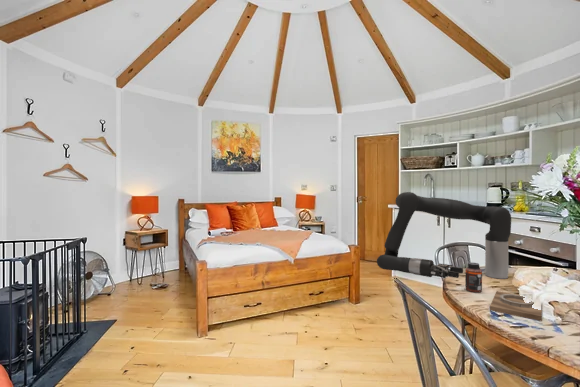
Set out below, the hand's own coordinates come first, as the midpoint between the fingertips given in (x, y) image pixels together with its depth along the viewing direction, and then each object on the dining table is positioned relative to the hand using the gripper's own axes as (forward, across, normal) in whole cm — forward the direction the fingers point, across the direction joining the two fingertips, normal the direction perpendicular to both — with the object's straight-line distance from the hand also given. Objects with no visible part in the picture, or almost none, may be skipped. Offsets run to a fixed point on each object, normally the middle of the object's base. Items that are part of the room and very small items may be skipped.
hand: (460, 273), depth 132 cm
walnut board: (+20, -10, +6) cm, 23 cm away
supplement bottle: (+5, 0, +7) cm, 8 cm away
